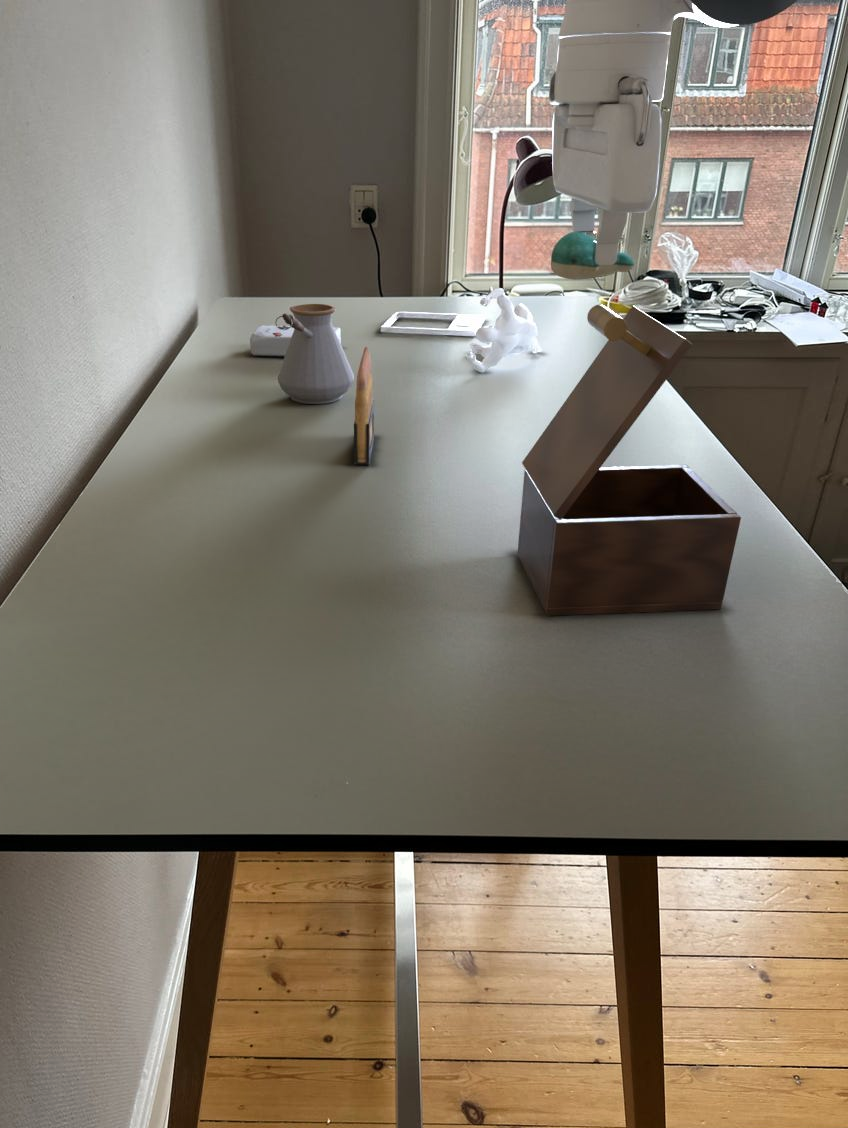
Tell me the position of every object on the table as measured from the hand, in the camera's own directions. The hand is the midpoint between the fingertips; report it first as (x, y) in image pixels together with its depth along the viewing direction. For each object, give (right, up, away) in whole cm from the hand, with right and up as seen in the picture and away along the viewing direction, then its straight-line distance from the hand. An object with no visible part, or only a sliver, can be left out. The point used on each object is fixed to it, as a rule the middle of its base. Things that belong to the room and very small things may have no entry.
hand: (592, 258), depth 83 cm
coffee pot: (-29, -1, +51) cm, 59 cm away
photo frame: (-7, +27, +96) cm, 100 cm away
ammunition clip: (-21, -11, +35) cm, 42 cm away
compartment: (+3, -29, +3) cm, 29 cm away
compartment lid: (-1, -15, -5) cm, 16 cm away
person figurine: (+3, +11, +71) cm, 72 cm away
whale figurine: (0, -2, +1) cm, 2 cm away
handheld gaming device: (-33, +16, +79) cm, 87 cm away
